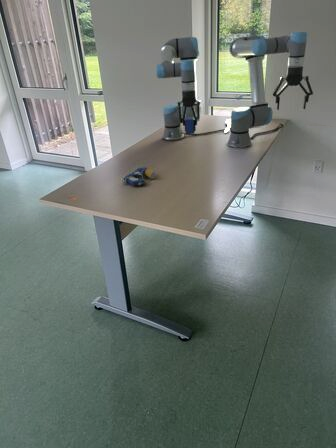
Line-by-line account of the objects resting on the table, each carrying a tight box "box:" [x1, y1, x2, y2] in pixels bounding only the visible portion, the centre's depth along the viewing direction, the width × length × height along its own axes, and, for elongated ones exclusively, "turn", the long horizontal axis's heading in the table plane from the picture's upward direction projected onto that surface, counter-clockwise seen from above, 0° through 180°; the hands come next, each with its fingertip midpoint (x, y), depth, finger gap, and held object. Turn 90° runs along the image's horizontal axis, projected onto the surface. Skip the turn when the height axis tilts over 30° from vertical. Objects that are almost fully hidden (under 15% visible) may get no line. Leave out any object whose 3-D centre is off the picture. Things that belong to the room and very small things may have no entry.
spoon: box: [223, 117, 231, 134], centre depth 262 cm, size 35×11×2 cm, turn 159°
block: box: [184, 117, 196, 134], centre depth 200 cm, size 5×6×9 cm
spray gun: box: [122, 166, 157, 187], centre depth 186 cm, size 21×4×15 cm
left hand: (190, 130), depth 202 cm, fingers closed on block, 5 cm apart
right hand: (290, 109), depth 182 cm, fingers open, 13 cm apart
